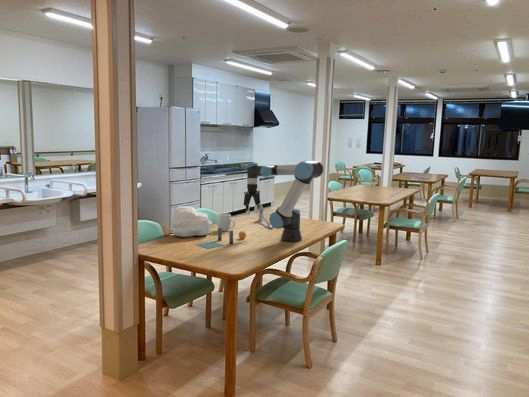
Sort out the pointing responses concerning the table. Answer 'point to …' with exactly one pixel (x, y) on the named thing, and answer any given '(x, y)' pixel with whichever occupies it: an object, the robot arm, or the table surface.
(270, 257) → the table surface
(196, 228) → the sculpture
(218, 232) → the post
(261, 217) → the hammer
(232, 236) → the post
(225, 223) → the mug
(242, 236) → the ball
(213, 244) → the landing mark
